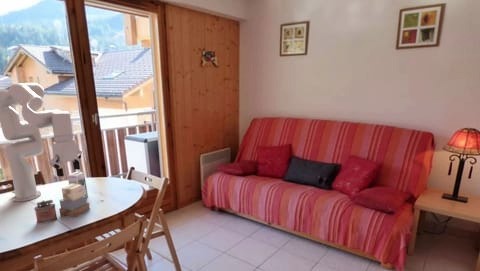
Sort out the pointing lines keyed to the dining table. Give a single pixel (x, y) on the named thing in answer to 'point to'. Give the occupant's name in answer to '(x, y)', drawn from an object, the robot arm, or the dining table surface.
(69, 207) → the slate block
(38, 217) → the lighter
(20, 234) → the dining table surface
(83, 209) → the walnut block
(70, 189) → the birch cube
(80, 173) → the syrup box
